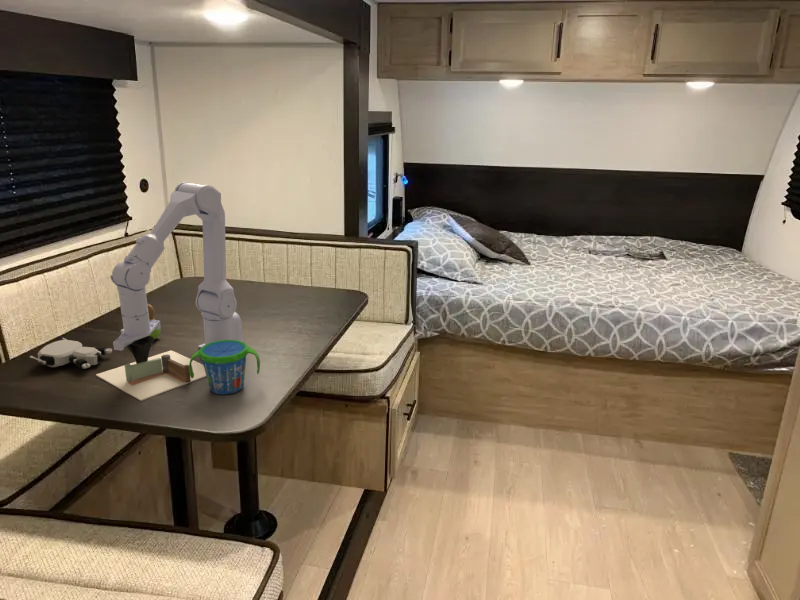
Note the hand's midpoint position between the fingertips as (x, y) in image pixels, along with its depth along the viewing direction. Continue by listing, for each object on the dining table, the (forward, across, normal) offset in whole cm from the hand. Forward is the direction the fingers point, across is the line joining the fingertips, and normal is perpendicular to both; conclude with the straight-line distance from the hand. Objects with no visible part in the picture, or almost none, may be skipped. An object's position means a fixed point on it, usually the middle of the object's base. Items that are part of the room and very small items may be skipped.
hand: (142, 366), depth 146 cm
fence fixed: (+2, -2, +8) cm, 8 cm away
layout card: (+2, -2, +2) cm, 4 cm away
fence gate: (+2, +1, +1) cm, 2 cm away
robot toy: (+3, -1, -21) cm, 21 cm away
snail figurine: (+3, -21, -13) cm, 25 cm away
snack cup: (+3, 0, +22) cm, 22 cm away
